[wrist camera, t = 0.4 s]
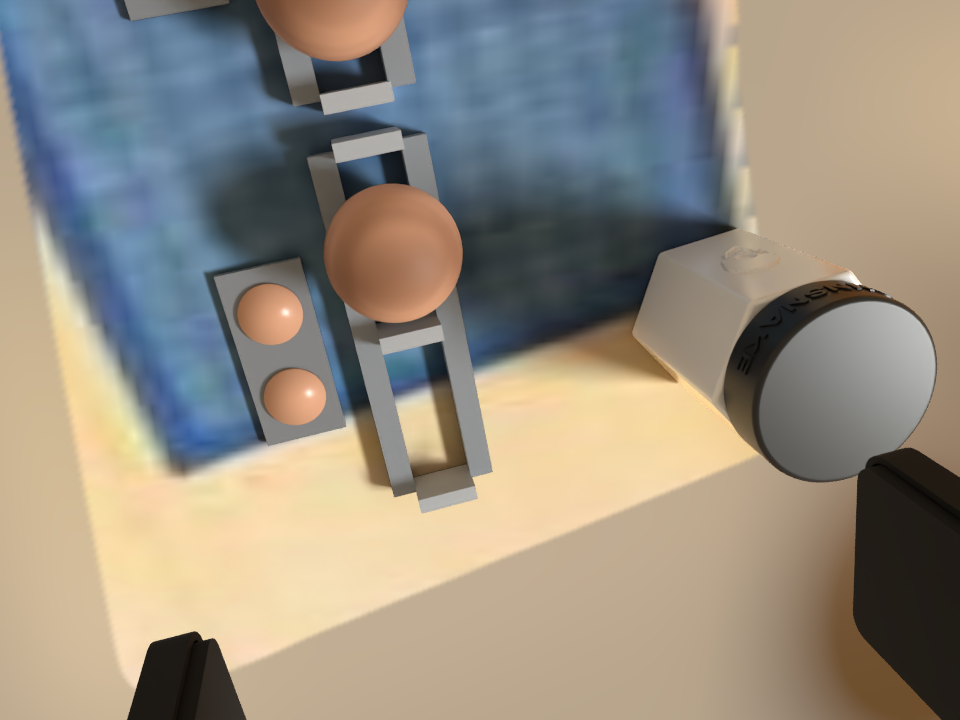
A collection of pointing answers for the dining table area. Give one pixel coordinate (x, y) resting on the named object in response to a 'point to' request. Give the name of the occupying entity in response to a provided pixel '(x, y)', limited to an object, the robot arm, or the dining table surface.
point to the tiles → (272, 322)
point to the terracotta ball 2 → (393, 253)
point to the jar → (789, 352)
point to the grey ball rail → (401, 336)
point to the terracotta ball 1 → (333, 25)
